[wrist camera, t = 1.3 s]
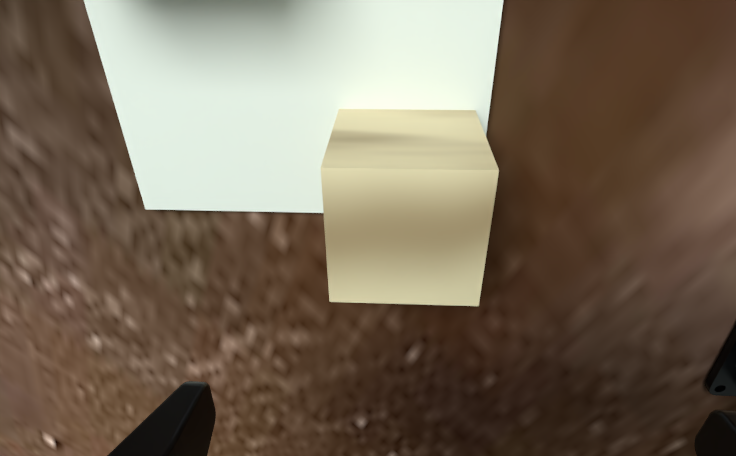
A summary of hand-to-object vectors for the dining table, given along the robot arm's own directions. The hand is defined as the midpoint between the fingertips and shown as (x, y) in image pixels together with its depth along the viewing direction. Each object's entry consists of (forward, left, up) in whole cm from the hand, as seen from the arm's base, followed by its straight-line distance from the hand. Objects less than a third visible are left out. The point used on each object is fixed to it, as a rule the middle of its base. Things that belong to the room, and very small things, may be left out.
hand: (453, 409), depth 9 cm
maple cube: (-1, +1, -12) cm, 12 cm away
